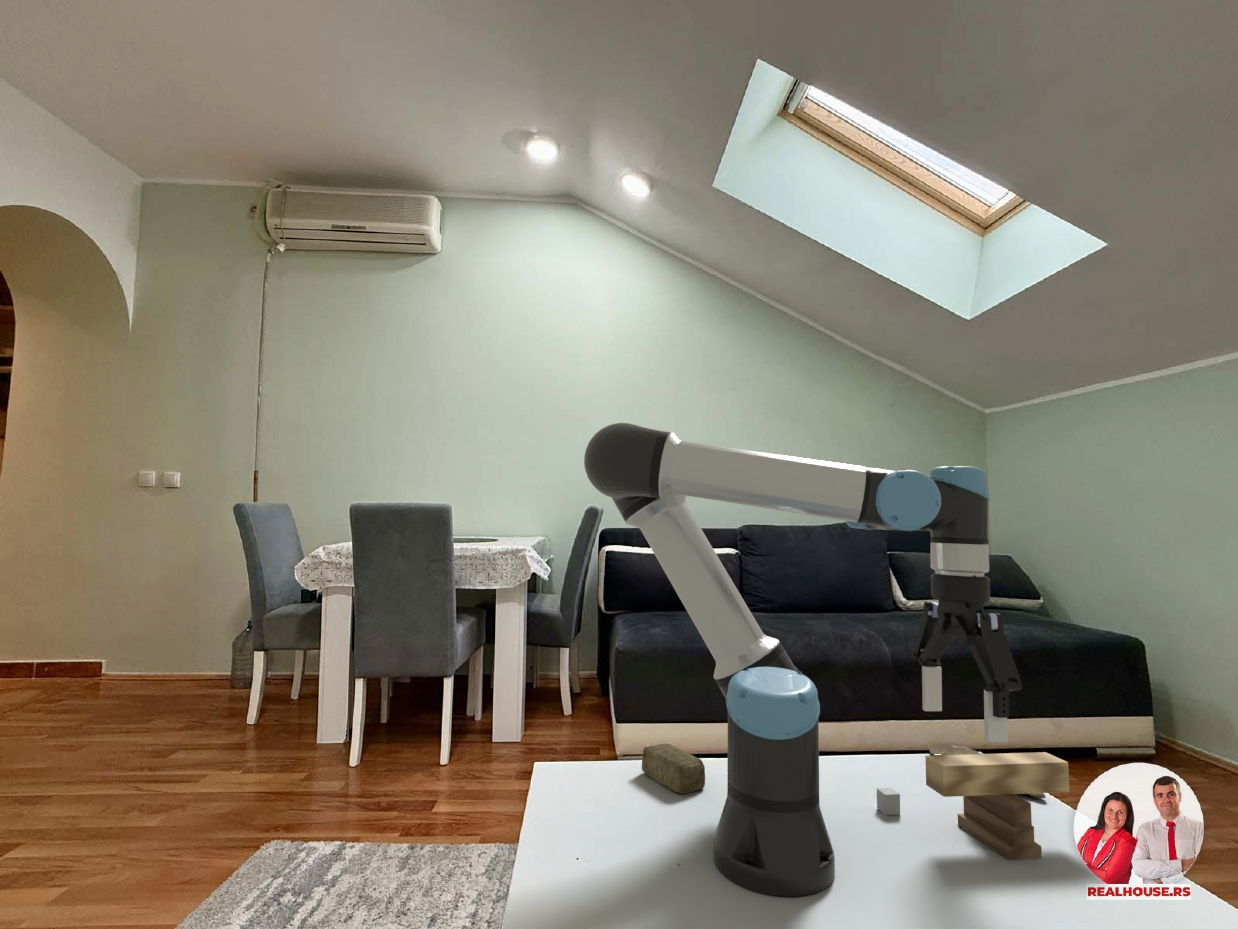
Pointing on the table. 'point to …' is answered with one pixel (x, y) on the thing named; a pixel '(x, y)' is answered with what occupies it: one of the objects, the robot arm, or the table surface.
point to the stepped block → (1001, 824)
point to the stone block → (673, 768)
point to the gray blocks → (888, 801)
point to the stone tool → (961, 750)
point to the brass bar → (996, 774)
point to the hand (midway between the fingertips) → (961, 725)
